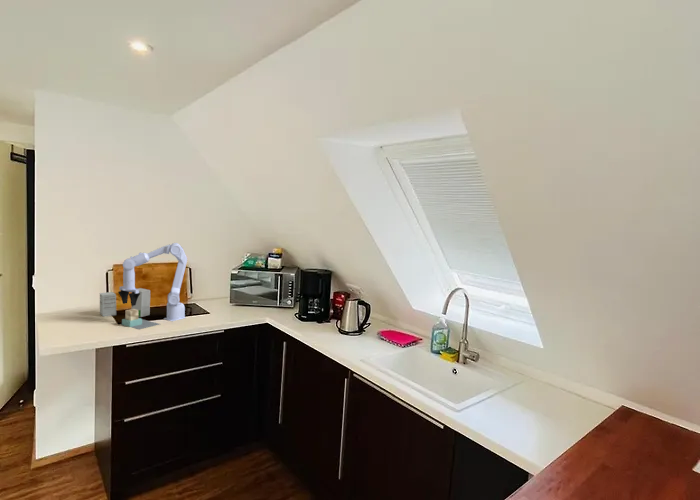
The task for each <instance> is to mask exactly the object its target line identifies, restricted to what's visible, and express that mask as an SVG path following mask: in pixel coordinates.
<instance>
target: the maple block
mask: <svg viewBox="0 0 700 500" xmlns="http://www.w3.org/2000/svg"><path fill="white" fill-rule="evenodd" d="M124 314H125V317H124V318H125V319H126V320H130V321H132V320H136V319H138V318H139V317H138V310H136V309H130V308H129V309H126V310H125V313H124Z"/></svg>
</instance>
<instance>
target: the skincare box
mask: <svg viewBox="0 0 700 500" xmlns="http://www.w3.org/2000/svg"><path fill="white" fill-rule="evenodd" d="M137 289H138V290H139V293H140V295H139V297H138V299H137V302H136V305H134V306H131V309H136V310H138V318H142V317H146V316H151V315H150V314H151V313H150V312H151V308H150V307H151V290H150V289H146V288H142V287H139V288H137Z"/></svg>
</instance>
